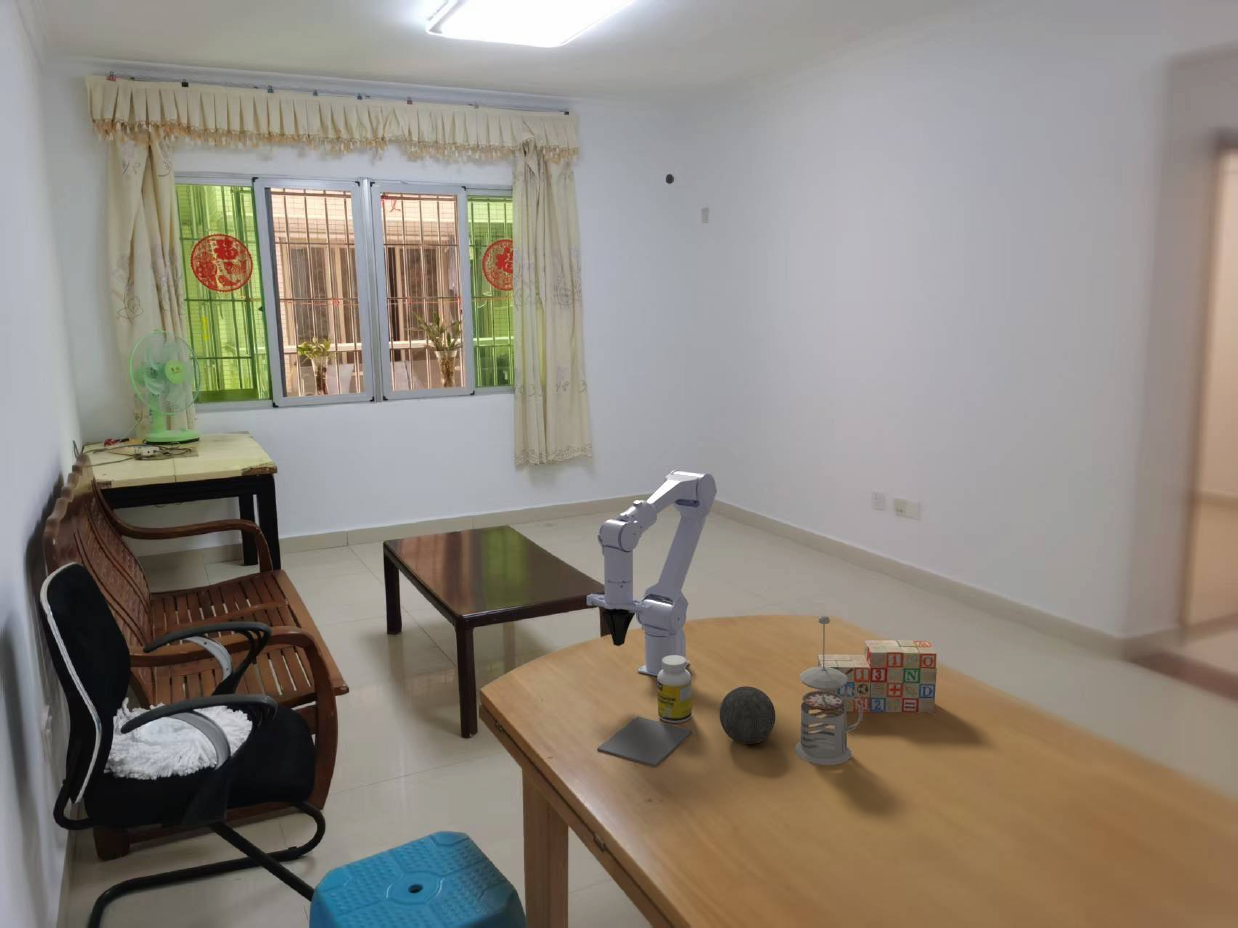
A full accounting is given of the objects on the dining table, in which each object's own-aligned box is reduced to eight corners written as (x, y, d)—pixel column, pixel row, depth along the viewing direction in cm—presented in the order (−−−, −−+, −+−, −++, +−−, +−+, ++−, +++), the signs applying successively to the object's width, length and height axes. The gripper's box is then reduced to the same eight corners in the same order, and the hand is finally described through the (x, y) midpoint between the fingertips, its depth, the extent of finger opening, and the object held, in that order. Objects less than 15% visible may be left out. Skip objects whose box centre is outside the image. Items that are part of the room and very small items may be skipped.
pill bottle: (653, 712, 173) (651, 656, 171) (683, 706, 175) (682, 650, 173) (666, 727, 167) (664, 669, 165) (697, 720, 169) (696, 663, 167)
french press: (805, 732, 163) (806, 602, 158) (869, 747, 157) (871, 612, 153) (786, 756, 155) (786, 620, 150) (852, 773, 149) (854, 631, 144)
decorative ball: (770, 757, 155) (770, 704, 153) (714, 750, 158) (713, 697, 156) (779, 731, 164) (779, 680, 162) (726, 724, 167) (725, 674, 165)
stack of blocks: (820, 712, 171) (821, 651, 169) (816, 697, 177) (817, 639, 175) (935, 713, 169) (937, 652, 167) (927, 698, 175) (929, 639, 173)
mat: (637, 718, 171) (637, 716, 171) (693, 732, 165) (693, 730, 164) (597, 750, 159) (597, 748, 159) (655, 766, 153) (655, 764, 153)
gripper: (577, 578, 179) (578, 643, 181) (638, 589, 171) (638, 657, 173) (597, 570, 185) (598, 633, 187) (657, 581, 177) (657, 646, 179)
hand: (619, 644), depth 181 cm, fingers closed
